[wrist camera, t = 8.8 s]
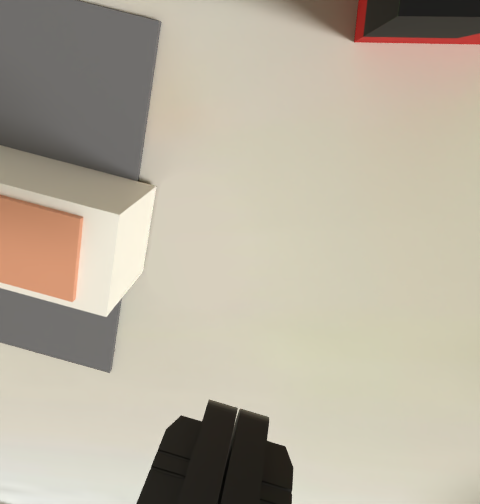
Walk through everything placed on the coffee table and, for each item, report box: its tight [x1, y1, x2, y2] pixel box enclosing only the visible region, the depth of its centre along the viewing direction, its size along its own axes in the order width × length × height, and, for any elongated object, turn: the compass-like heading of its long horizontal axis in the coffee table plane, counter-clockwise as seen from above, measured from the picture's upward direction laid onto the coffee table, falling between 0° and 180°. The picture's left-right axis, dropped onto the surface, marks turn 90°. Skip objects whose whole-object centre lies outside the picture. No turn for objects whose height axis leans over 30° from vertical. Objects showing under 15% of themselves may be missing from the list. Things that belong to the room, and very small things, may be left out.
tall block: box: [0, 145, 156, 317], centre depth 22 cm, size 5×5×12 cm
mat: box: [0, 0, 161, 373], centre depth 24 cm, size 20×12×1 cm, turn 167°
